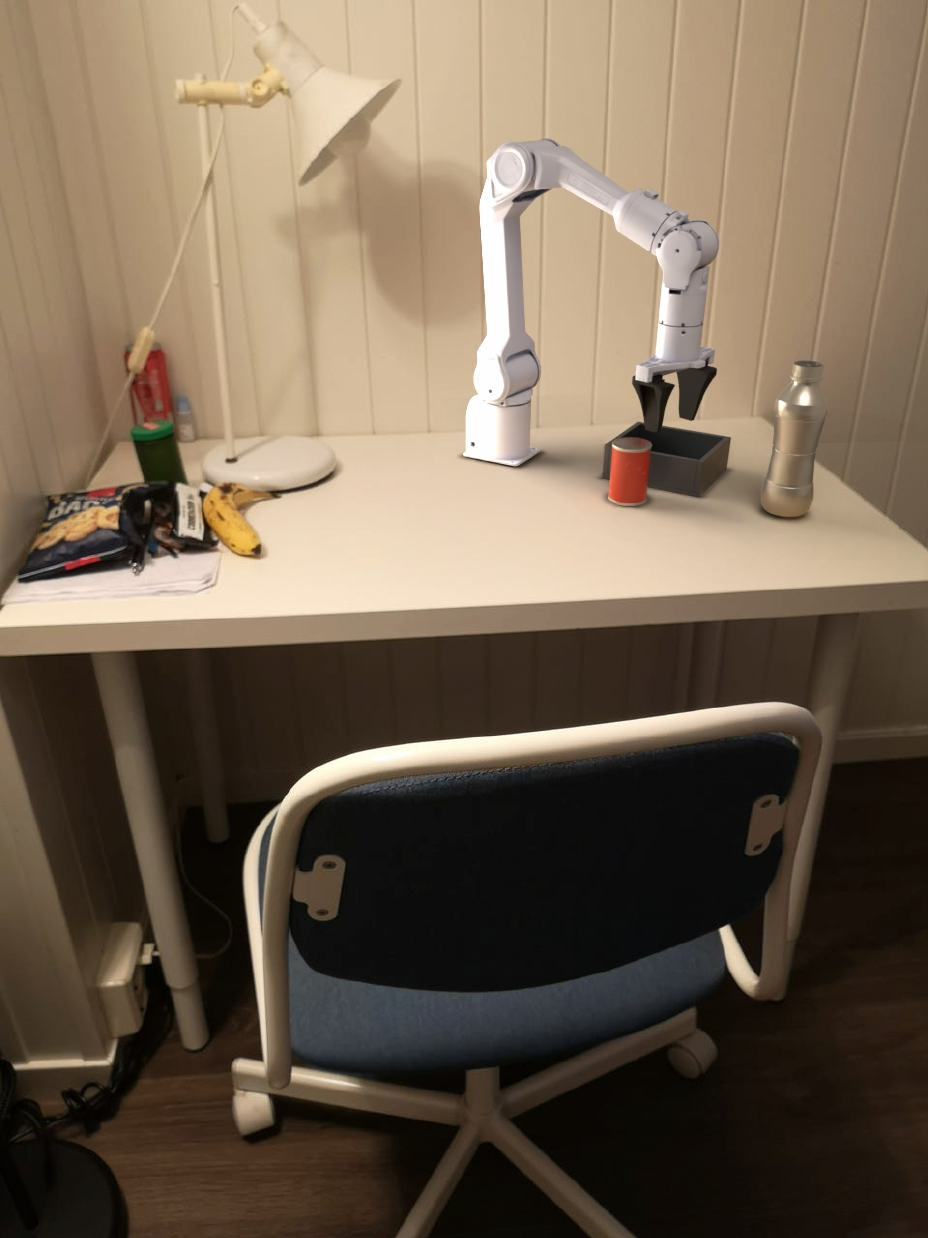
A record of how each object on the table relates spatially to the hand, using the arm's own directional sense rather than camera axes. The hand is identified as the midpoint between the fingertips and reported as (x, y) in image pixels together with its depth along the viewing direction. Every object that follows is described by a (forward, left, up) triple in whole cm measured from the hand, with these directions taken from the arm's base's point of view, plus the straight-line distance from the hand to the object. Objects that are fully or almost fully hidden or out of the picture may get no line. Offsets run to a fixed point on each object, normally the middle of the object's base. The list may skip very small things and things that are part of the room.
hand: (669, 424), depth 133 cm
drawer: (-2, +7, -10) cm, 12 cm away
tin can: (-3, -5, -10) cm, 11 cm away
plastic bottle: (+17, +1, -10) cm, 19 cm away
